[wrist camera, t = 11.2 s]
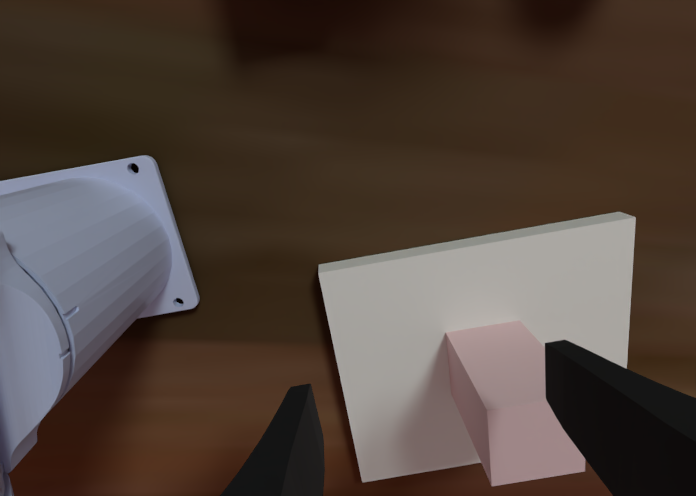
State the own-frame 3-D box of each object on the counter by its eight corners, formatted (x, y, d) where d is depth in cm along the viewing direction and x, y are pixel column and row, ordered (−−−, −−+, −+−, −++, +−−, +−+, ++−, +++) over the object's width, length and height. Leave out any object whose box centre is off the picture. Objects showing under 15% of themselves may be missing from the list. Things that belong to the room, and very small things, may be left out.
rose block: (451, 393, 23) (491, 486, 17) (445, 332, 22) (486, 410, 16) (521, 382, 23) (585, 471, 17) (519, 320, 22) (587, 394, 16)
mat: (360, 466, 26) (362, 482, 25) (318, 264, 21) (318, 273, 20) (609, 424, 26) (622, 438, 25) (619, 211, 21) (635, 217, 20)
